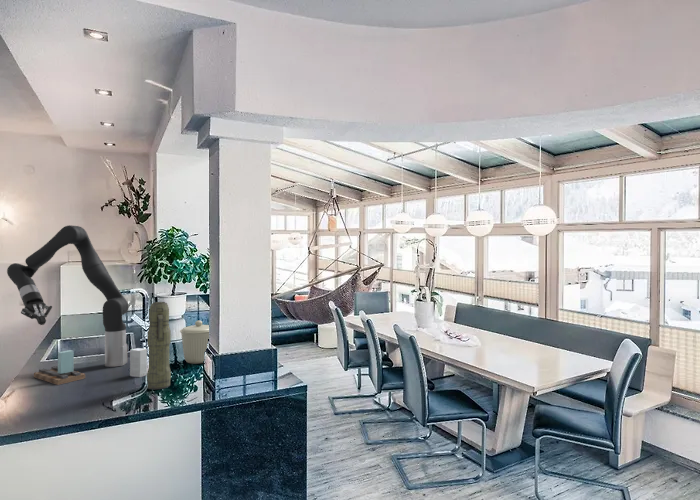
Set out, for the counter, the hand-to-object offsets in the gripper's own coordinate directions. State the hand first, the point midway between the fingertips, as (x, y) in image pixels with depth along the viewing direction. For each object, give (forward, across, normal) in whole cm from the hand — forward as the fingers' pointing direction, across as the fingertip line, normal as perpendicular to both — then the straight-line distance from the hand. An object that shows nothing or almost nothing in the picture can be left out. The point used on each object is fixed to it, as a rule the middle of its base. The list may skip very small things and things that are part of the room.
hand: (43, 323), depth 197 cm
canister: (+49, +51, -16) cm, 72 cm away
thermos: (+62, +15, -30) cm, 71 cm away
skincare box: (+47, +20, -14) cm, 53 cm away
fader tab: (+30, 0, 0) cm, 30 cm away
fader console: (+27, 0, +5) cm, 28 cm away
